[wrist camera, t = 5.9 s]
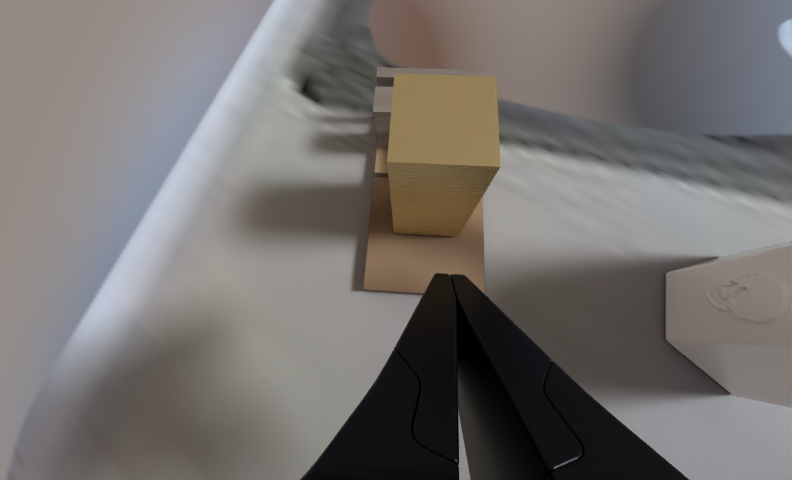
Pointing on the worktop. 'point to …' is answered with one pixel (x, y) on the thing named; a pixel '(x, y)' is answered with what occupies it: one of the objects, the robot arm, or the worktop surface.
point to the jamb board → (411, 253)
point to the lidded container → (737, 321)
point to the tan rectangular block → (441, 150)
